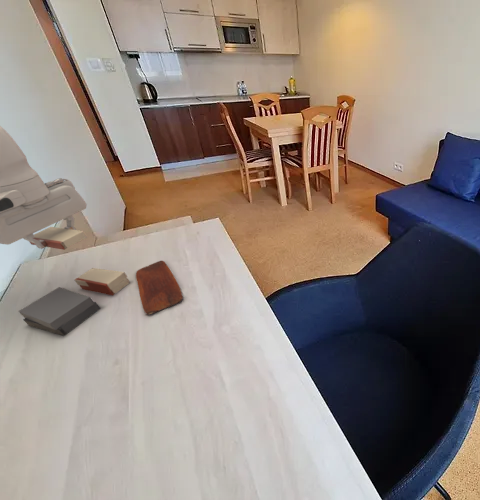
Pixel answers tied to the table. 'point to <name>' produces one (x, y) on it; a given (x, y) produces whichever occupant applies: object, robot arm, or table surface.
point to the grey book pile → (59, 311)
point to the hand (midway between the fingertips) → (58, 239)
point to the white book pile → (103, 281)
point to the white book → (60, 237)
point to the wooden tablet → (157, 287)
